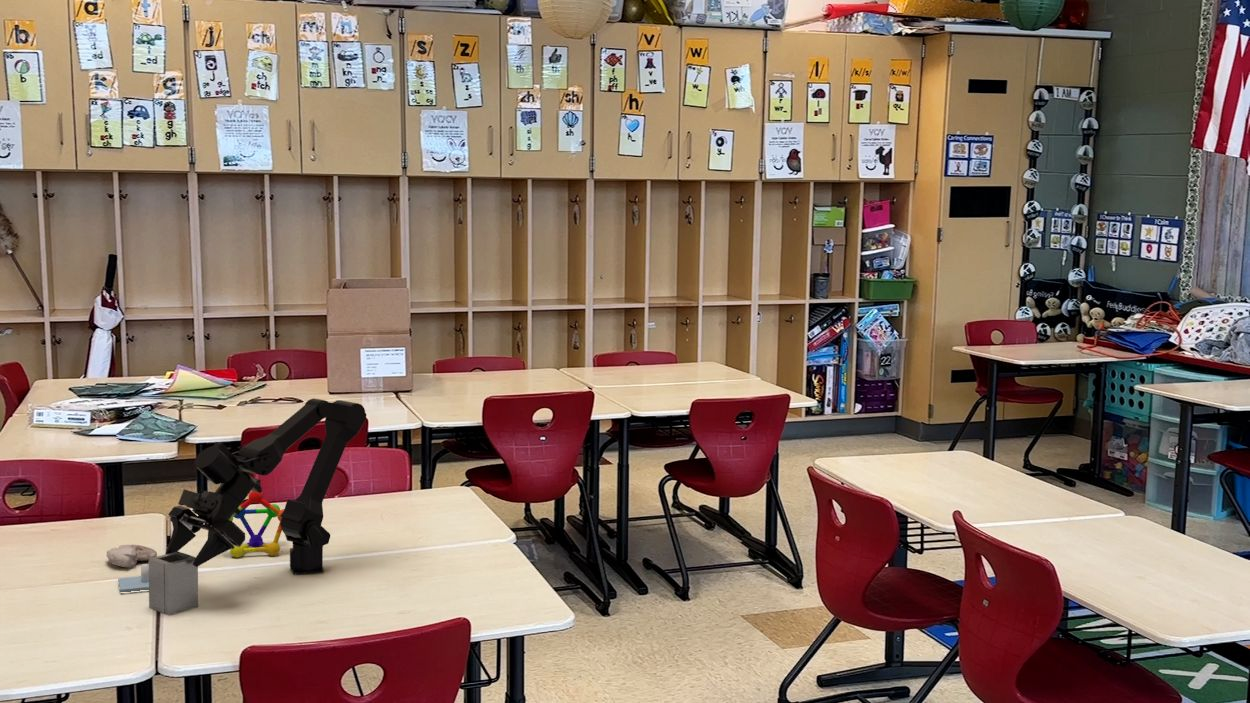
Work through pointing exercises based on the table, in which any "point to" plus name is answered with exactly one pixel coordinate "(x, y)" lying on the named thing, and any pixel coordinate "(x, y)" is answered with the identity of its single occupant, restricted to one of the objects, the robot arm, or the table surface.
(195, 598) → the open metal box
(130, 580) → the shaft stand
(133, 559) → the fossil
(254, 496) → the educational toy
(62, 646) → the table surface
